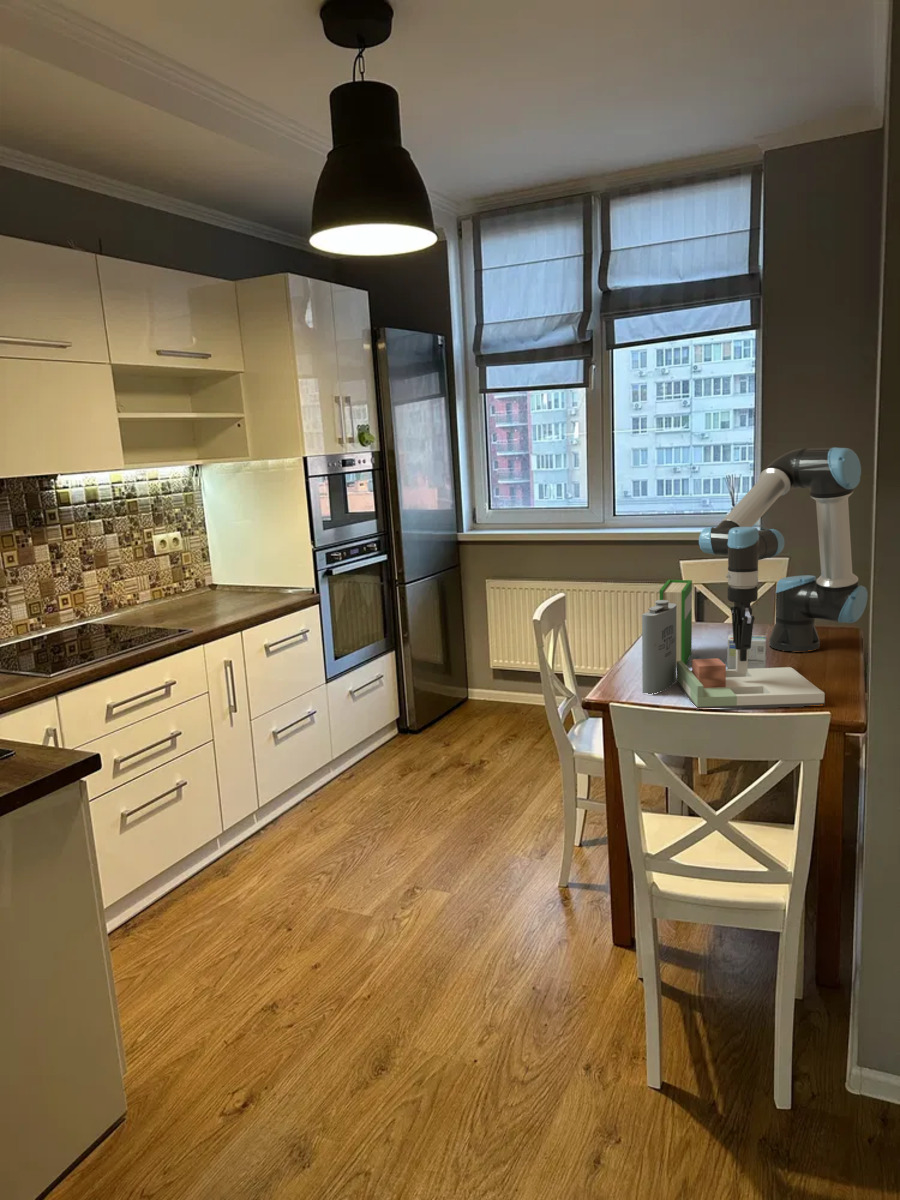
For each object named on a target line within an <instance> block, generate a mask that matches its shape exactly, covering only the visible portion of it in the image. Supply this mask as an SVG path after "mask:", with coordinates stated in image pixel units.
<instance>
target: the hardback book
mask: <svg viewBox="0 0 900 1200" xmlns="http://www.w3.org/2000/svg"><path fill="white" fill-rule="evenodd" d="M659 600H667V601H669V603H672V604H677V610H676V666H677V661H683V662H684V664H685V665H686V666H687V664H688V662H689V659H690V657H691V655H692V653H693V652H692V646H693V644H692V641H693V639H692V635H693V633H692V631H693V629H692V628H693V627H692V625H693V623H692V622H693V620H692V619H693V609H692V608H693V580H692V579H688V580H687V579H686V580H685V579H667V581H665V583H664V584H663V585H662V586H661V588H660V589H659Z"/></svg>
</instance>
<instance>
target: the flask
mask: <svg viewBox="0 0 900 1200" xmlns="http://www.w3.org/2000/svg"><path fill="white" fill-rule="evenodd" d="M654 603H655V605H654V606H651V607H649V608H648V611H646V612H645V613H642V614H641V620H642V621H641V625H642V626H641V628H642V631H641V634H642V635H641V636H642V637H641V639H642V641H641V642H642V644H641V645H642V646H641V649H642V650H641V651H642V652H641V654H642V658H641V661H642V663H641V669H642V676H641V677H642V694H643V693H648V694H652V693H653V694H654V693H657V692H660V691H662V692H664V691H663V690H665V689H666V690H667V688H668V689H669V688H670V686H671V687H672V686H673V685H674V684H675V683H677V665H676V610H677V604H672V603H669V601H667V600H660V599H657V600H655V601H654ZM666 690H665V691H666ZM660 693H661V692H660Z"/></svg>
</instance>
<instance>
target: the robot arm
mask: <svg viewBox="0 0 900 1200" xmlns="http://www.w3.org/2000/svg"><path fill="white" fill-rule="evenodd" d="M861 476H862V465H861V461H860V459H859V457H858V455H857V453H856V452H855V451H854V450H853V449H852V448H847V447H836V446H835V447H834V446H832V447H817V448H816V447H815V448H812V447H811V448H809V447H808V448H806V447H805V448H796V449H793V450H791V451H788V452H786V453H783V454H782V455H781V456H779V457H778V458H776V459H774V460H773V461H771V462H770V464H768V465H767V466H766V467H765V468H764V469H763V470H762V471H761V472H760V474H759V477H758V478H759V479H758V481H757V482H756V483H755V484H754V485H753V486H752V487H751V489H749V491H748V492H747V493H746V494H745V495H744V496H743V497H742V498H741V499H740V501H739V502H738V503H737V504H736V505H735V506H734V507H733V508H732V509H731V510H730V511H729V512H728V514H727V515H726V516H725V517H723V518H724V519H722V520H721V521H720V522H719V524H718V525H716V527H714V526H711V527H705V528H703V529H702V531H701V532H700V534H699V536H698V545H699V548H700V550H701V551H702V552H703V553H705V554H709V555H715V556H727V565H728V566H727V574H725V578H727V585H728V587H727V601H729V602H731V603H733V604H734V605H733V606H731V607H730V613H731V623H732V635H733V642H734V643H735V646H736V647H735V649H736V672H748V649H750V648H751V640H752V635H753V629H754V623H755V619H756V618H755V615H753V608H752V606H751V603H754V602H757V601H758V598H759V597H758V596H759V595H758V593H759V590H758V589H759V588H758V586H757V585H759V561H761V560H764V559H771V558H773V557H775V556H777V555H779V554H780V553H781V552H782V551H783V550H784V548H785V538H784V535H783V534H782V532H780V531H779V530H778V529H775V528H769V529H768V528H765V529H763V530H762V529H761V530H760V529H758V528H757V527H755V526H754V525H755V524H756V523H757V522H758V521H759V520H760V519H761V518H762V517H763V515H764V514H765V513H766V512H767V511H768V510H769V509H770V508H771V506H772V505H774V503H775V502H776V501H777V499H779V498H780V497H781V496H784V495H786V494H788V492H789V491H790V490H793V489H799V488H800V489H809V497H810V498H811V499H813V500H814V501H815V505H816V518H817V519H816V520H817V532H818V546H819V547H818V549H819V561H820V576H819V577H818V578H817V577H816V575H809V574H807V575H794V576H787V577H783V578H780V579H779V580H778V581H777V583H776V587H775V623H774V625H773V628H772V632H771V634H770V636H769V641H768V646H769V645H770V646H771V647H772V648H775V649H778V650H777V651H779V650H784V651H808V650H814V649H817V648H819V647H821V645H820V644H821V641H820V637H819V634H818V631H817V629H816V625H815V619H817V620H821V621H822V620H823V621H830V622H837V623H841V624H842V623H845V624H847V623H848V624H853V623H855V622H857V621H858V620H859V619H860V618H861V617H862V615H863V614H864V611H865V609H866V606H867V602H868V596H869V595H868V589H867V588H866V587H865V586H863V585H859V577H858V576H857V575H856V574H854V573H853V561H852V543H851V542H852V541H851V528H850V527H851V526H850V525H851V524H850V510H849V497H850V496H851V495H852V494H853V493H854V489H855V488H857V486H858V485H859V484H860V481H861ZM771 647H770V648H771ZM772 648H771V649H772ZM775 649H774V650H775ZM819 649H820V648H819ZM784 651H783V652H784Z"/></svg>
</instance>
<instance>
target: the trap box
mask: <svg viewBox="0 0 900 1200" xmlns="http://www.w3.org/2000/svg"><path fill="white" fill-rule="evenodd" d="M676 684H677V685H678V686H679V688H680V690H681V691H682V692H683V694H685V696H686V698H687V699H688V698H689V699H688V700H689V702H690V703H691V702H692V703H693V704H694V705H695V706H696V707H697V708H758V709H779V708H778V707H790V708H805V707H804V706H810V705H820V704H824V705H825V695H826V693H825V692H824V691H823V690H821V688H820V689H819V687H817V686H816V685H814V684H813V683H812V682H811V681H809V680H808V679H807V678H805V677H804V676H803V675H802V674H801V673H799V672H798V671H797V670H796V669H794V668H792V666H791V667H789V666H785V667H766V668H753V669H748V672H736V669H728V668H726V687H715V688H703V685H702V684H701V683H700V681H699V680H698V679H697V678H696V677H695V675H694V674H693V673H692V670H691V669H690V668H689V667H688V666H687V664H686V665H685V664H684V662H683V661H677V665H676ZM692 703H691V704H692ZM693 704H692V705H693ZM694 705H693V706H694ZM696 711H700V710H699V709H696Z"/></svg>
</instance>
